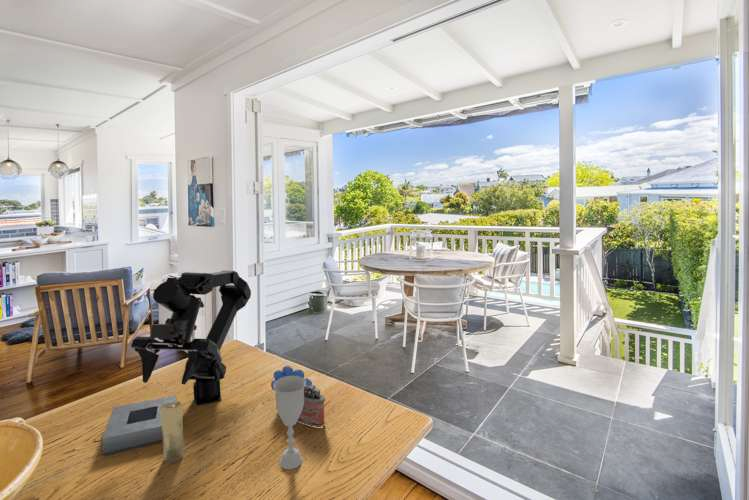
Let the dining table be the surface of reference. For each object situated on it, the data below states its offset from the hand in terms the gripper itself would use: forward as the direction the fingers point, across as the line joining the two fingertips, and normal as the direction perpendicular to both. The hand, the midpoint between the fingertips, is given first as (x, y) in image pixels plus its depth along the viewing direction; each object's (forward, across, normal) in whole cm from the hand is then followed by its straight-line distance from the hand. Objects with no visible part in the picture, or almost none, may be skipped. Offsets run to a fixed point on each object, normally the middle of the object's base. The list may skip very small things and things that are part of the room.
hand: (163, 383), depth 87 cm
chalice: (+14, +31, +5) cm, 34 cm away
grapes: (+2, +25, +21) cm, 33 cm away
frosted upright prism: (+15, +5, +4) cm, 16 cm away
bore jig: (+9, -8, +11) cm, 17 cm away
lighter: (+6, +32, +16) cm, 36 cm away
